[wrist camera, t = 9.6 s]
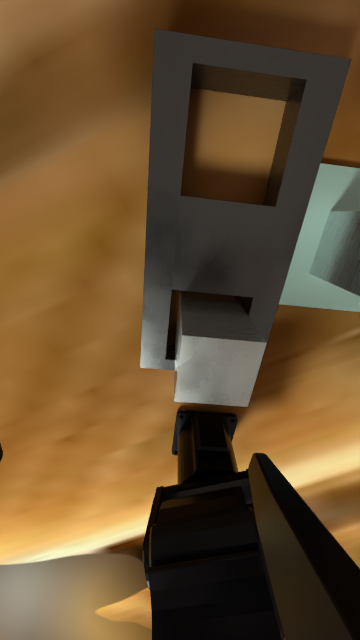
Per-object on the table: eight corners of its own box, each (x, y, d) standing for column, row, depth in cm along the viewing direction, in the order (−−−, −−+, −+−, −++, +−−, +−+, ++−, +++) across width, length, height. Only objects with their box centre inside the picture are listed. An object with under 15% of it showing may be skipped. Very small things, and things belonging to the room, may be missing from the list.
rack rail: (248, 360, 22) (257, 376, 20) (144, 351, 22) (140, 367, 19) (323, 84, 14) (351, 58, 12) (158, 60, 14) (154, 28, 11)
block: (223, 341, 21) (247, 406, 14) (175, 337, 21) (174, 401, 14) (233, 295, 20) (266, 342, 12) (180, 290, 19) (182, 335, 12)
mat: (365, 311, 20) (369, 312, 20) (276, 302, 20) (278, 304, 19) (427, 178, 16) (433, 177, 16) (316, 164, 16) (319, 163, 15)
